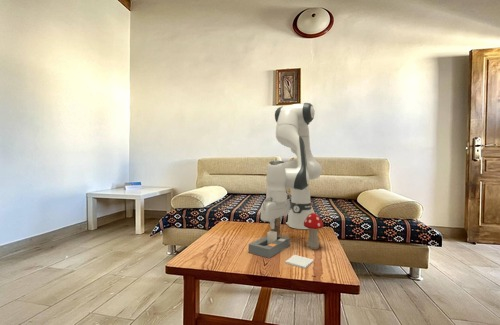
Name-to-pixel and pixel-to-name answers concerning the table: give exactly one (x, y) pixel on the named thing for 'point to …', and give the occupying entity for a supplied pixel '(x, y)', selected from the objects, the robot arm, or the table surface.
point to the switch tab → (271, 237)
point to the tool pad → (299, 261)
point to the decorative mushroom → (313, 230)
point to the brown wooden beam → (277, 226)
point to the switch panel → (269, 246)
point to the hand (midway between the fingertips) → (275, 227)
